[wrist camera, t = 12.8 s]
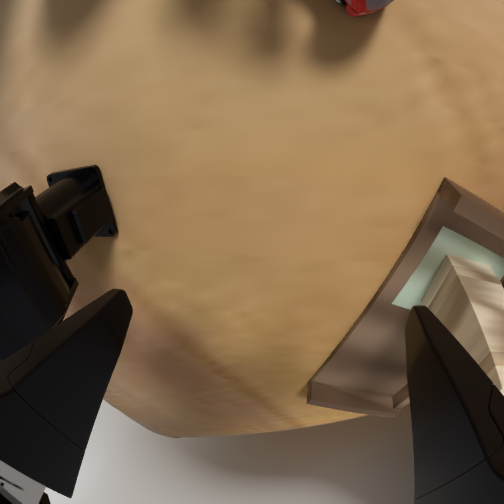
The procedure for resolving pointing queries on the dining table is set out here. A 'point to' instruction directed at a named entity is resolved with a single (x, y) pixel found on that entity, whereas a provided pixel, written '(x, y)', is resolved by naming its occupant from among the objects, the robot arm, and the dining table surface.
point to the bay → (406, 305)
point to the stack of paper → (471, 311)
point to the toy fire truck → (363, 6)
